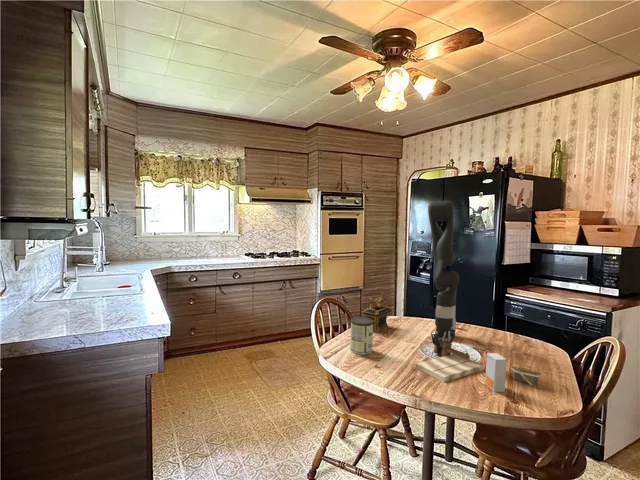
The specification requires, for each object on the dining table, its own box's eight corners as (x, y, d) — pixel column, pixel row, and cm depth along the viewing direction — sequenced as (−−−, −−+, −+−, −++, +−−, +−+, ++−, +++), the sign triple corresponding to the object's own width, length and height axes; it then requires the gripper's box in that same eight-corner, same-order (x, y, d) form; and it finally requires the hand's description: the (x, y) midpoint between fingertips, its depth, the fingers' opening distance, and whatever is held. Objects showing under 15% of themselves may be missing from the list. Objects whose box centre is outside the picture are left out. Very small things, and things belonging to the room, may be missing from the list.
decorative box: (377, 333, 187) (378, 297, 186) (361, 329, 193) (362, 294, 192) (394, 325, 203) (396, 291, 202) (379, 322, 209) (381, 289, 208)
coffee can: (352, 345, 169) (353, 316, 169) (374, 348, 166) (375, 318, 165) (347, 352, 160) (348, 321, 159) (370, 356, 156) (371, 324, 156)
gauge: (438, 350, 163) (439, 337, 163) (470, 363, 149) (471, 349, 148) (432, 351, 161) (433, 339, 161) (464, 365, 147) (465, 351, 146)
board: (454, 357, 157) (454, 353, 157) (483, 369, 145) (483, 364, 145) (415, 368, 145) (416, 363, 145) (443, 382, 133) (444, 376, 133)
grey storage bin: (554, 398, 124) (555, 379, 124) (497, 383, 134) (498, 366, 134) (553, 385, 134) (554, 368, 134) (500, 372, 144) (501, 356, 144)
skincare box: (484, 384, 132) (486, 353, 132) (495, 384, 133) (497, 352, 132) (493, 392, 126) (495, 359, 125) (505, 392, 127) (507, 359, 126)
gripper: (448, 311, 165) (446, 347, 166) (426, 315, 157) (424, 353, 158) (461, 315, 158) (459, 353, 159) (440, 319, 151) (438, 359, 152)
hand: (442, 353), depth 159 cm, fingers closed on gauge, 4 cm apart
